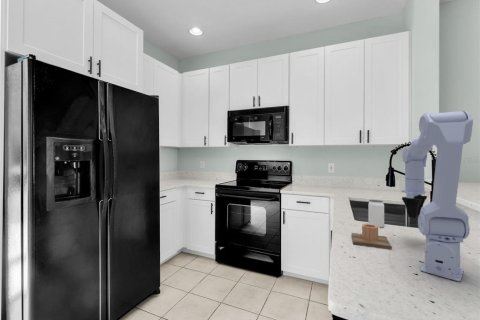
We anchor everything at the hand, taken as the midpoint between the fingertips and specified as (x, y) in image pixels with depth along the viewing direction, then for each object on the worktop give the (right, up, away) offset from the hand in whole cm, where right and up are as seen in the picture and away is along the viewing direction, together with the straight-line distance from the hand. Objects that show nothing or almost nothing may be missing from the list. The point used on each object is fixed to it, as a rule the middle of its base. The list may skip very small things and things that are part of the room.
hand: (414, 215), depth 85 cm
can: (0, -11, +24) cm, 26 cm away
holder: (-15, -10, +2) cm, 19 cm away
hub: (-15, -9, +2) cm, 18 cm away
